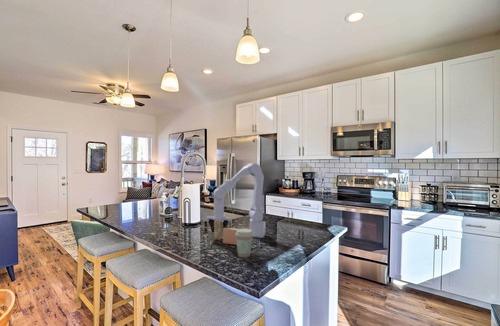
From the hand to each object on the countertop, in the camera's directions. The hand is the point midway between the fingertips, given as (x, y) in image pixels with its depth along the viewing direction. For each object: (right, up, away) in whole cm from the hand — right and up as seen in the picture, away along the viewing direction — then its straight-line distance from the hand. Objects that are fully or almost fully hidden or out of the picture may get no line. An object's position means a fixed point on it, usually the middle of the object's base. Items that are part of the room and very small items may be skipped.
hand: (218, 232), depth 141 cm
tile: (+7, -4, -7) cm, 11 cm away
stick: (0, -3, 0) cm, 3 cm away
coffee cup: (+15, -4, -24) cm, 29 cm away
